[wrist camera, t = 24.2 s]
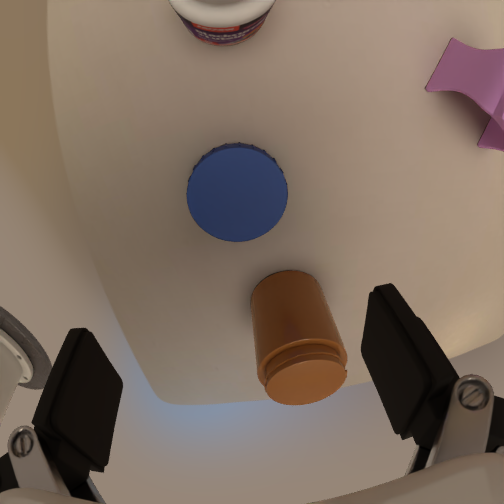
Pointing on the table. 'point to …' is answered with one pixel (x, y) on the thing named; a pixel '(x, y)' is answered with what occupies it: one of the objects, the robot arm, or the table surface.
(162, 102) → the table surface
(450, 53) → the toy chair
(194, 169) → the jar lid
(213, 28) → the pill bottle
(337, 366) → the jar
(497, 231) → the table surface
